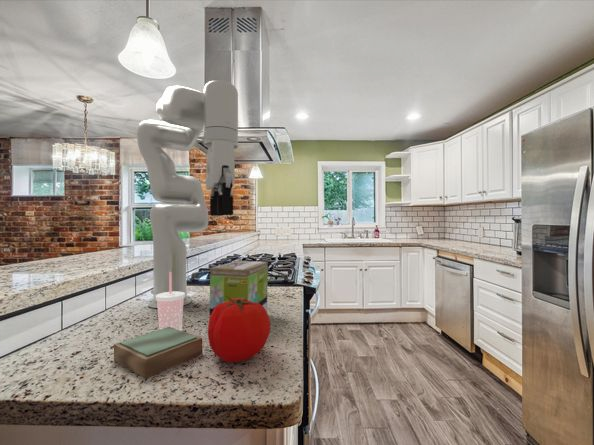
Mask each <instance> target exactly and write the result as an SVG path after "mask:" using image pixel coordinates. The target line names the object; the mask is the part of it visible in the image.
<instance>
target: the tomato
mask: <svg viewBox="0 0 594 445" xmlns="http://www.w3.org/2000/svg"><path fill="white" fill-rule="evenodd" d="M226 297H227V296H226ZM227 298H228V299H229V301H228V302H225V303H220V304H218V305H217V306H216V307H215V308H214V310H213V312H212V314H211V316H210V319H208V326H207V335H208V336H207V338H208V343H209V347H210V349H211V350H212V352H213V353H214V355H215V356H216V357H217V358H218V359H220V360H222V361H225V362H226V363H231V364H232V363H240V362H245V361H247V360H250V359H252V358H254V357H255V356H256V355H258V354H259V353H260V352H261V351H262V350H264V347H265V345H266V343H267V341H268V340H269V337H270V334H271V320H270V316H269V313H268V310H267V311H266V310H265V308H264V307H263V306H262V305H260V304H259V303H255V302H251V301H249V300H246V299H247V298H246V299H239V298H235V299H230V298H229V297H227Z"/></svg>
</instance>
